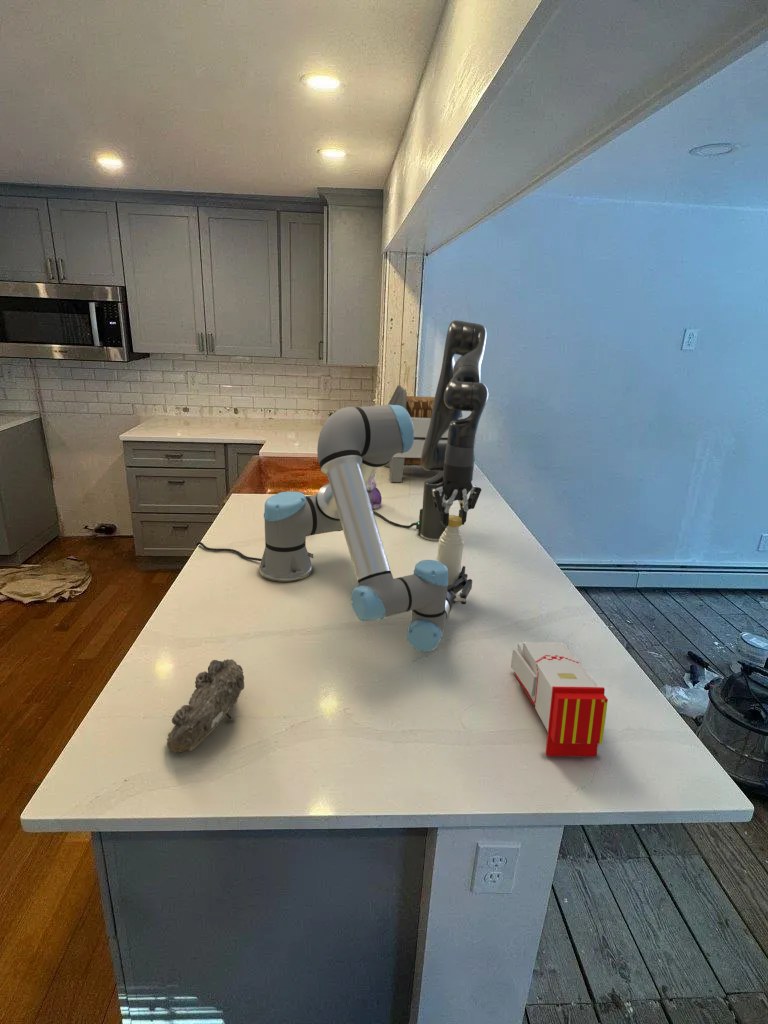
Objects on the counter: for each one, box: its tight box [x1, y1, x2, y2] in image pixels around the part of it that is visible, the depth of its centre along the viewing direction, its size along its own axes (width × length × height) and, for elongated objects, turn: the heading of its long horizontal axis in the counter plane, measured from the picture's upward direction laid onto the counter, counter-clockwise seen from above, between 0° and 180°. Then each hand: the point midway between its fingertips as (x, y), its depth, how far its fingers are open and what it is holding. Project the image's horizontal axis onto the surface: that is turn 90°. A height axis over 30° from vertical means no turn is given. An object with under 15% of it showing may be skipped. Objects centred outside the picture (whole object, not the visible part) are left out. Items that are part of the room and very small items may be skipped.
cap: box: [448, 514, 463, 528], centre depth 149 cm, size 4×4×2 cm
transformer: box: [384, 384, 463, 483], centre depth 268 cm, size 34×33×41 cm
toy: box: [510, 641, 609, 758], centre depth 113 cm, size 12×13×30 cm
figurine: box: [365, 471, 383, 510], centre depth 223 cm, size 9×10×15 cm
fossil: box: [166, 658, 245, 754], centre depth 106 cm, size 22×10×15 cm
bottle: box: [436, 526, 465, 596], centre depth 153 cm, size 7×7×23 cm
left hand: (450, 568), depth 159 cm, fingers closed on bottle, 7 cm apart
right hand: (452, 524), depth 149 cm, fingers closed on cap, 4 cm apart
